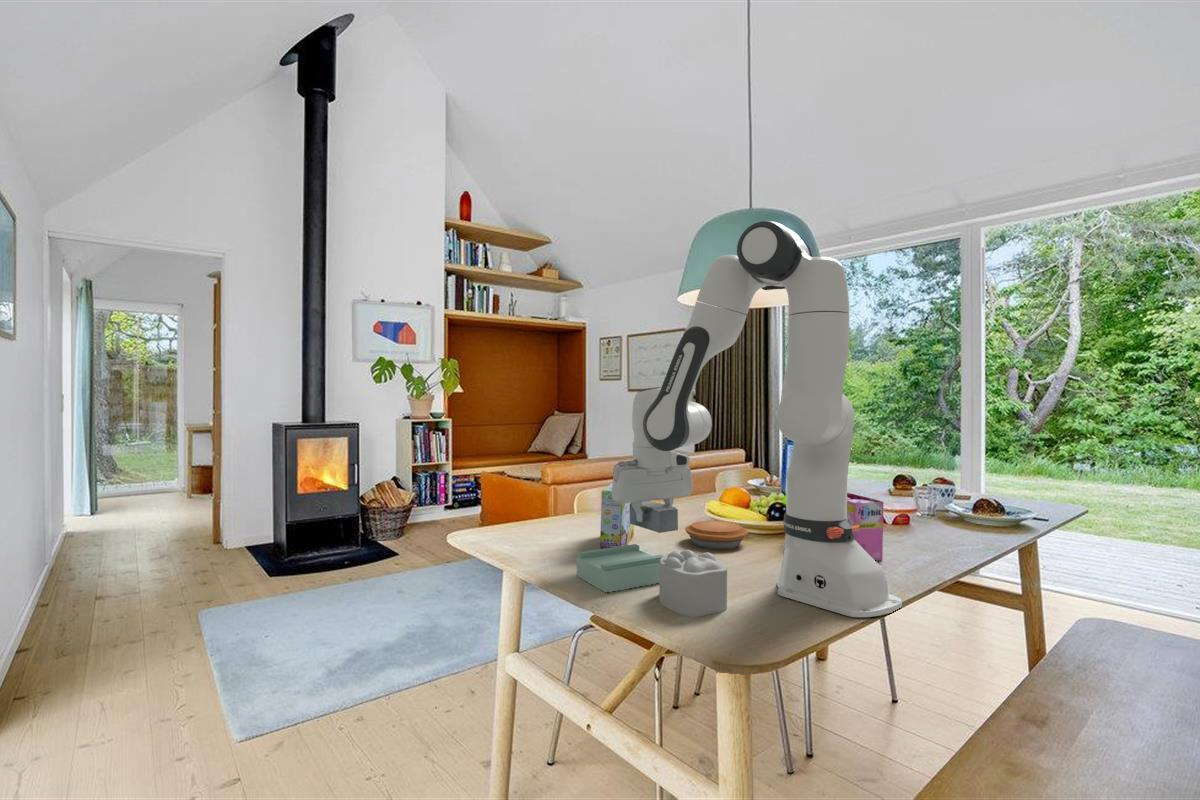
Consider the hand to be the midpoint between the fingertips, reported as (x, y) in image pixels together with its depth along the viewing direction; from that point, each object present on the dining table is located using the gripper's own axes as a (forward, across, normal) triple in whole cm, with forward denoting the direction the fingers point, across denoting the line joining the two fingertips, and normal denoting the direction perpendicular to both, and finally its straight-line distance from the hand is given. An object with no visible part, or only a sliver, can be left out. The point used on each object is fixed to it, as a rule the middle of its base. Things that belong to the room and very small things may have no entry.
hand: (653, 519), depth 136 cm
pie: (+9, +22, +4) cm, 24 cm away
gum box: (+10, +44, -14) cm, 48 cm away
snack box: (+9, 0, +15) cm, 17 cm away
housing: (+2, 0, 0) cm, 2 cm away
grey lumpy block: (+10, -10, -26) cm, 30 cm away
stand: (+9, -14, -9) cm, 19 cm away
